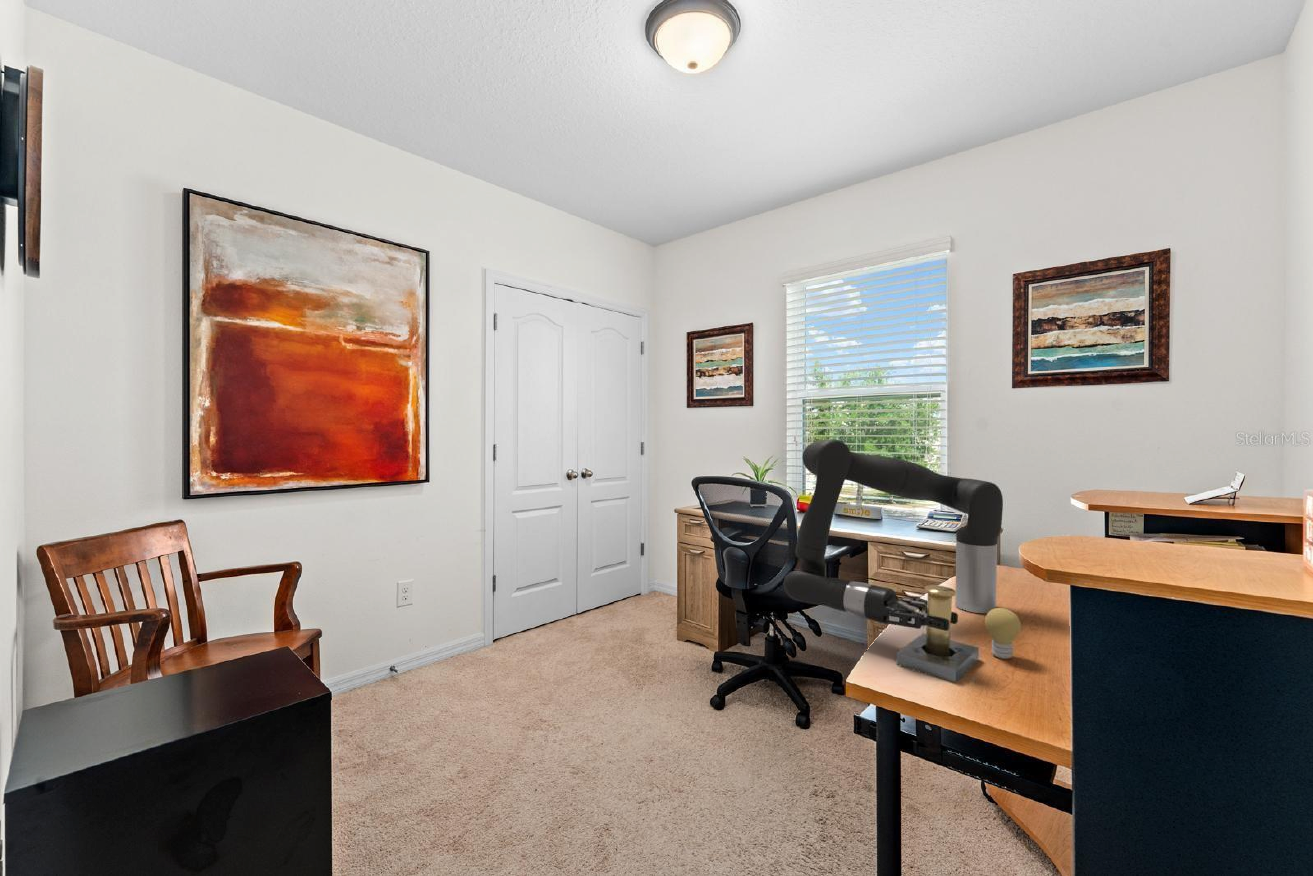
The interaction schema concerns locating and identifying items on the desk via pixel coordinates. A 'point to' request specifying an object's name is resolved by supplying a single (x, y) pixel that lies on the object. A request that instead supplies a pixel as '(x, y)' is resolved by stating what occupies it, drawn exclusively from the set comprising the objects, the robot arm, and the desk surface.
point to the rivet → (940, 607)
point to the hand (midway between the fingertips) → (952, 622)
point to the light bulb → (1002, 631)
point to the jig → (938, 659)
